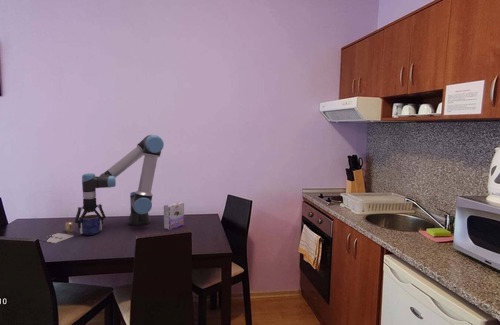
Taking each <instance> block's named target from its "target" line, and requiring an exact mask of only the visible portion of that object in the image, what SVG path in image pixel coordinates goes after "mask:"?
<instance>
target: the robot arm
mask: <svg viewBox="0 0 500 325" xmlns="http://www.w3.org/2000/svg"><path fill="white" fill-rule="evenodd" d="M164 147H165V144H164V140H163V139H162V138H161V137H160V136H159V135H155V134H149V135H146V136H145V137H144V138H143V139H142V140H141V141H140V142H138V143H137V144H136V147H135V148H133V149H132V150H131V151H129V152H128V153H127V154H126V155H124V157H122V158H121V159H119V161H117V162H116V163H114V164H113V165H112V166H111V167H109V168H108V169H107V170H105V171H104V172H103V173H101V174H100V175H99V176H96V174H95V173H83V175H82V176H81V185H82V187H81V188H82V202H83V203H82V204H83V205H82V206H78V207H77V212H76V216H75V218H74V223H75V224H77V229H79V233H80V235H81V234H83V232H82V223H81V222H82V219H83V218H84V217H85V216H87V214H89V213H95V215H97V216H100V230H99V231H102V228H103V226H102V225H104V220H105V219H106V218H107V217H106V215H105V212H104V210H103V205H102V204H101V203H99V204H97V190H96V189H102V188H103V189H104V188H105V189H107V188H114V187H116V184H117V182H116V181H117V180H116V178H117V177H119V176H120V175H121V174H122V173H124V171H126V170H127V169H128V168H130V167H131V166H132V165H133V164H135V162H138V160H139V159H141V158H142V157H143V162H142V166H141V167H142V168H141V174H140V178H139V183H138V188H137V190H136V191H132V192H129V193H130V194H129V198H130V200H129V201H130V202H129V203H130V214H129V218H128V220H127V222H128V225H130V226H135V227H137V226H145V225H148V224H150V223H151V217H150V214H149V212H150V211H151V210H152V207H153V203H152V200H153V193H152V188H153V183H154V177H155V172H156V167H157V163H158V158H160V157H161V154H162V151H163V149H164ZM97 209H98V210H99V212H100V213H99V212H98V210H97ZM82 210H83V212H82ZM81 213H82V214H81ZM101 215H102V216H101Z"/></svg>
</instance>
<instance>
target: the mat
mask: <svg viewBox="0 0 500 325" xmlns="http://www.w3.org/2000/svg"><path fill="white" fill-rule="evenodd" d="M51 235H52V237H50V238H49V239H48V240H47V242H46V243H49V242H51V243H50V244H58V243H60V242H62V241H65V240H69V239H70V238H74V237H75V235H73V234H68V233H60V232H57V233H54V234H51Z"/></svg>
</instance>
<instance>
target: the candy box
mask: <svg viewBox="0 0 500 325" xmlns="http://www.w3.org/2000/svg"><path fill="white" fill-rule="evenodd" d="M183 226H185V202H181V201H177V202H173V203H170V204H163V228H164V229H165V230H168V231H171V230H174V229H177V228H180V227H183Z"/></svg>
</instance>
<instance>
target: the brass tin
mask: <svg viewBox="0 0 500 325" xmlns="http://www.w3.org/2000/svg"><path fill="white" fill-rule="evenodd" d="M73 227H74V226H73V221H67V222H65V233H67V232H68V233H72V232H73V230H74V229H73Z"/></svg>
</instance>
